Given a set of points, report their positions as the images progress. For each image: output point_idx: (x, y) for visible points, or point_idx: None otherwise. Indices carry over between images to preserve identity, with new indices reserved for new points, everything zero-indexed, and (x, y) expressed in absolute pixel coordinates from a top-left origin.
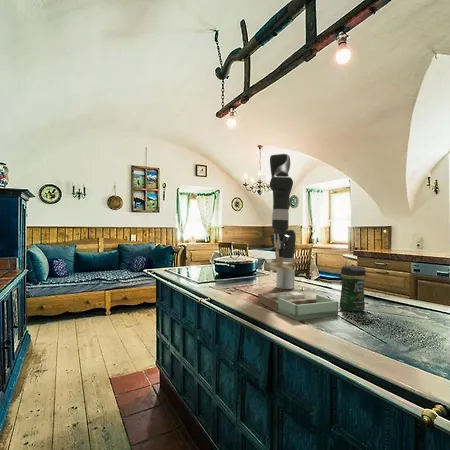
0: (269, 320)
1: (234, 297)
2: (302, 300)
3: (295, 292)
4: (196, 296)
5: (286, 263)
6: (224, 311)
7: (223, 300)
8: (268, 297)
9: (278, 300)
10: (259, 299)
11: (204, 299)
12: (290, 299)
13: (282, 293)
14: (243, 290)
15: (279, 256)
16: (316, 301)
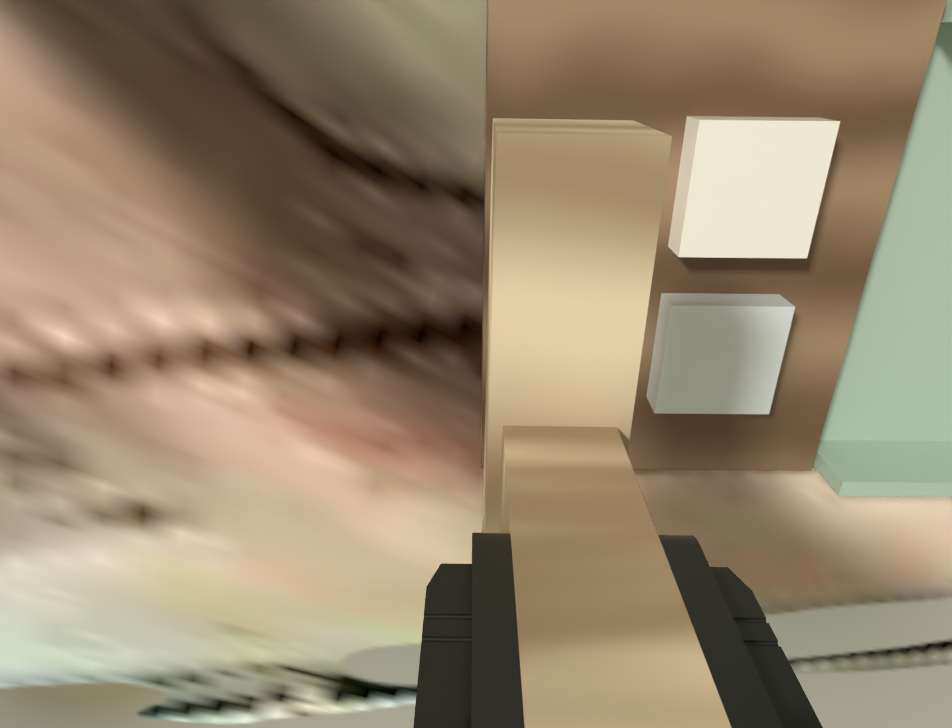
0: (894, 565)
1: (297, 531)
2: (883, 217)
3: (706, 162)
4: (221, 719)
5: (640, 342)
6: None
7: (368, 622)
8: (631, 452)
9: (829, 482)
10: None
11: (313, 703)
12: None
13: (678, 337)
14: (21, 355)
15: None
16: (942, 23)
